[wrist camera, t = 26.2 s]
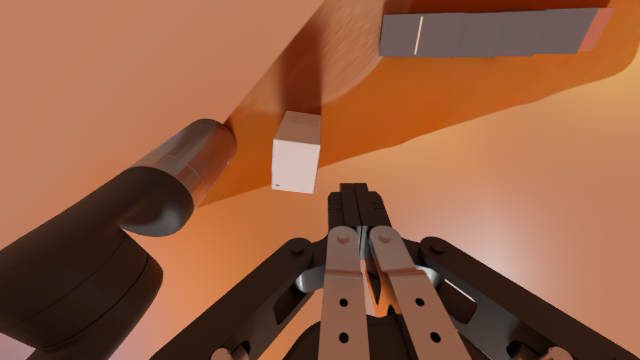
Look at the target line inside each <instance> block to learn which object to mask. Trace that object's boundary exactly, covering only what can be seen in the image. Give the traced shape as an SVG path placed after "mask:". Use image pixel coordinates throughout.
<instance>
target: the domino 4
mask: <svg viewBox="0 0 640 360" xmlns="http://www.w3.org/2000/svg"><path fill="white" fill-rule="evenodd" d="M598 9H599V7H598V8H572V9H545V10H518V11H501V12H527V11H551V12H550V14H549V17H548V19H547V21H546V24H545V26H544V28H543V31H542V33H541V36H540V38H539V40H538V43H537V45H536V47H535V50H534V52H533V54H576V53H577V51H578V49H579V47H580V45H581V43H582V41H583V39H584V37H585V35H586V33H587V31H588V29H589V27H590V25H591V23H592V21H593V19H594V17H595V15H596V13H597V11H598Z"/></svg>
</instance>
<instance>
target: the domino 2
mask: <svg viewBox="0 0 640 360" xmlns="http://www.w3.org/2000/svg"><path fill="white" fill-rule="evenodd" d="M507 15H508V12H501V13H465V16H464V20H463V24H462V28H461V31H460V35H459V39H458V43H457V46H456V50H455V54H454V57H491V58H493V55H494V52H495V49H496V46H497V44H498V41H499V38H500V35H501V32H502V29H503V26H504V23H505V20H506V17H507Z"/></svg>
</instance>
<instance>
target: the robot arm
mask: <svg viewBox="0 0 640 360" xmlns="http://www.w3.org/2000/svg"><path fill="white" fill-rule="evenodd" d="M236 148H237V147H236V141H235V138H234V136H233V134H232V133H231V132H230V130H229V129H228V128H227V127H225V126H224V125H223V124H221V123H219V122H217V121H215V120H211V119H200V120H197V121H195V122H193V123H192V124H190V125H189V126H187V127H186V128H184V129H183V130H181V131H180V132H178V133H177V134H176V135H174V136H173V137H171V138H170V139H168V140H167V141H166V142H164V143H163V144H161V145H160V146H159V147H157V148H156V149H154V150H153V151H151V152H150V153H149V154H147V155H146V156H145V157H143V158H142V159H141V160H139V161H138V162H136V163H135V164H133V165H132V166H130V167H129V168H128V169H126V170H124V171H123V172H121V173H120V174H119V175H117V176H116V177H115V178H113V179H111V180H110V181H108V182H107V183H105V184H104V185H102V186H101V187H99V188H98V189H96V190H95V191H93V192H92V193H90V194H89V195H87V196H86V197H85V198H83V199H82V200H80V201H79V202H77V203H76V204H74V205H73V206H71V207H69V208H68V209H66V210H65V211H63V212H61V213H60V214H58V215H57V216H55V217H54V218H52V219H50V220H48V221H47V222H45V223H44V224H42V225H40V226H39V227H37V228H35V229H34V230H32V231H30V232H29V233H27V234H26V235H24V236H22V237H21V238H19V239H18V240H16V241H14V242H13V243H11V244H10V245H8V246H7V247H5V248H4V249H2V250H1V251H0V333H3V334H5V335H7V336H9V337H12V338H13V339H16V340H18V341H20V342H22V343H24V344H27V345H29V346H31V347H33V348H36V350H35V351H34V352H33V353H32V354H31V355H30V357H28V358H27V359H26V360H108V359H109V358H110V357H111V355H112V354H113V353H114V352H115V351H116V349H117V348H118V347H119V346H120V345H121V343H122V342H123V341H124V340H125V338H126V337H127V336H128V335H129V333H130V332H131V331H132V329H133V328H134V327H135V326H136V325H137V323H138V322H139V320H140V319H141V318H142V316H143V315H144V314H145V312H146V311H147V310H148V308H149V307H150V305H151V304H152V302H153V300H154V299H155V297H156V295H157V293H158V291H159V289H160V287H161V284H162V281H163V270H162V268H161V267H160V265H159V264H158V262H157V261H156V260H155V259H154V258H153V257H152V256H150V254H148V253H147V252H146V251H145V250H144V249H143V248H142V247H141V246H140V245H139V244H138V243H137V242H136V241H134V240H133V239H132V238H131V237H130V236H129V235H128V234H127V233H126V232H125V231H123V230H122V229H125V230H128V231H130V232H133V233H136V234H139V235H143V236H150V237H162V236H168V235H171V234H174V233H176V232H177V231H178V230H180V229H181V228H182V227H183V226H184V225H185V223H186V222H187V221H188V219H189V218H190V217H191V215H192V214H193V212H194V211H195V210H196V208H197V207H198V206H199V204H200V203H201V201H202V200H203V198H204V197H205V196H206V194H207V193H208V192H209V190H210V189H211V187H212V186H213V185H214V183H215V182H216V180H217V179H218V178H219V176H220V175H221V173H222V172H223V171H224V169H225V168H226V167H227V165H228V164H229V162H230V161H231V160H232V158H233V157H234V155H235V153H236ZM121 228H122V229H121ZM360 260H365V263H366V269H365V275H366V278H367V283H368V286H369V290H370V294H371V297H372V301H373V305H374V309H375V315H376V317H374V316H371V315H367V314H366V308H365V296H364V284H363V274H362V272H361V269H360ZM445 279H446V280H448V281H449V282H450V283H452V284H453V285H455V286H456V287H458V288H459V289H460V290H462V291H463V292H464V293H466V294H467V295H469V296H470V297H471V298H472V299H473V300H474V301H475V302H474V301H472V300H471V299H469V298H468V297H466V296H465V295H464V294H462V293H461V292H460V291H458V290H457V289H456V288H454V287H453V286H451V285H450V284H448V283H447V282H445V281H444V280H445ZM320 288H323V300H322V314H321V321H319V322H317V323H315V324H313V325H312V326H310V327H309V328H308V329H306V330H305V331H304V332H303V333H302V334H301V336H299V338H298V339H297V340H296V342H295V343H294V344H293V346H292V347H291V349H290V350H289V351H288V353H287V354H286V356H285V357H284V358H283V360H491V359H492V360H640V359H639V358H638V357H637V356H635V355H634V354H632V353H630V352H629V351H627V350H625V349H624V348H622V347H621V346H619V345H617V344H615V343H614V342H612V341H611V340H609V339H607V338H606V337H604V336H602V335H601V334H599V333H597V332H596V331H594V330H592V329H591V328H589V327H587V326H586V325H584V324H582V323H581V322H579V321H577V320H576V319H574V318H572V317H571V316H569V315H568V314H566V313H564V312H563V311H561V310H559V309H558V308H556V307H554V306H553V305H551V304H549V303H548V302H546V301H544V300H543V299H541V298H539V297H538V296H536V295H534V294H533V293H531V292H529V291H528V290H526V289H524V288H523V287H521V286H520V285H518V284H516V283H514V282H513V281H511V280H509V279H508V278H506V277H505V276H503V275H501V274H500V273H498V272H496V271H495V270H493V269H491V268H490V267H488V266H486V265H485V264H483V263H481V262H480V261H478V260H476V259H475V258H473V257H471V256H470V255H468V254H466V253H465V252H463V251H461V250H460V249H458V248H456V247H455V246H453V245H452V244H450V243H448V242H447V241H445V240H443V239H441V238H438V237H426V238H423V239H422V240H421V242H420V243H419V242H414V241H410V240H406V239H404V238H402V237H401V236H400V234H399V233H398V232H397V231H396V230H395V229H393V228H392V226H391V223H390V220H389V217H388V215H387V212H386V210H385V206H384V204H383V201H382V198H381V196H380V195H379V194H378V193H377V192H375V191H374V192H373V191H368V188H367V184H366V183H340V192H331V193H330V195H329V196H328V234H327V236H326V237H325V238H323V239H322V240H320V241H317V242H314V243H311V242H310V241H308V240H307V239H305V238H294V239H291V240H289V241H287V242H286V243H285V244H284V245H282V246H281V247H280V248H279V249H278V250H277V251H275V252H274V253H273V254H272V255H271V256H270V257H268V258H267V259H266V260H265V261H264V262H262V263H261V264H260V265H259V266H258V267H257V268H255V269H254V270H253V271H252V272H251V273H249V274H248V275H247V276H246V277H245V278H244V279H242V280H241V281H240V282H239V283H238V284H236V285H235V286H234V287H233V288H232V289H231V290H229V291H228V292H227V293H226V294H225V295H224V296H222V297H221V298H220V299H219V300H218V301H216V302H215V303H214V304H213V305H212V306H211V307H209V308H208V309H207V310H206V311H205V312H203V313H202V314H201V315H200V316H199V317H198V318H196V319H195V320H194V321H193V322H192V323H190V324H189V325H188V326H187V327H186V328H185V329H183V330H182V331H181V332H180V333H179V334H177V335H176V336H175V337H174V338H173V339H172V340H170V341H169V342H168V343H167V344H166V345H164V346H163V347H162V348H161V349H160V350H159V351H157V352H156V353H155V354H154V355H153V356H152V357H151V358H150V360H258V358H259V357H260V356H261V355H262V354H263V352H264V351H265V350H266V349H267V348H268V347H269V345H270V344H271V343H272V342H273V341H274V340H275V338H276V337H277V336H278V335H279V334H280V333H281V331H282V330H283V329H284V328H285V327H286V326H287V324H288V323H289V322H290V321H291V319H292V318H293V317H294V316H295V315H296V314H297V313H298V311H299V310H300V309H301V308H302V307H303V305H304V304H305V303H306V302H307V301H308V300H309V298H310V297H311V296H312V295H313V294H314V291H315V290H317V289H320ZM457 330H458V331H459V332H458V331H457ZM476 346H477V347H478V348H477V347H476ZM482 351H483V352H484V353H485V354H486V355H485V354H484V353H483V352H482ZM489 357H490V358H491V359H490V358H489Z"/></svg>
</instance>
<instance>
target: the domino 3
mask: <svg viewBox="0 0 640 360" xmlns="http://www.w3.org/2000/svg"><path fill="white" fill-rule="evenodd" d="M550 12H551V11H527V12H508V15H507V17H506V20H505V23H504V26H503V29H502V32H501V35H500V38H499V41H498V44H497V46H496V49H495V52H494V55H493V56H532V54H533V52H534V50H535V47H536V45H537V43H538V40H539V38H540V36H541V33H542V31H543V28H544V26H545V24H546V21H547V19H548V17H549V14H550ZM494 13H501V12H494Z"/></svg>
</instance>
